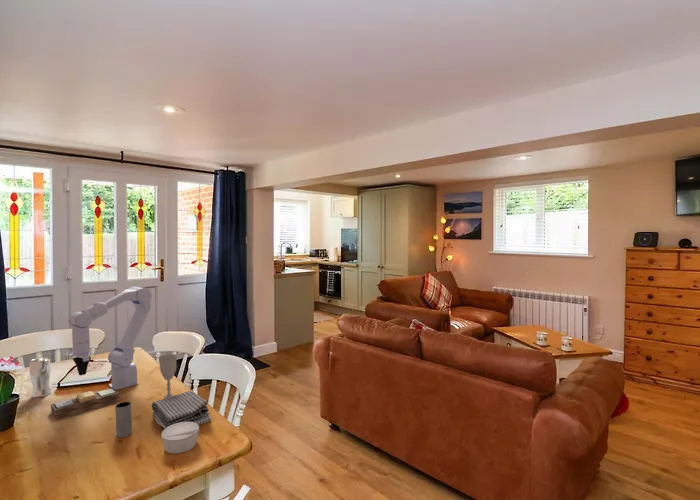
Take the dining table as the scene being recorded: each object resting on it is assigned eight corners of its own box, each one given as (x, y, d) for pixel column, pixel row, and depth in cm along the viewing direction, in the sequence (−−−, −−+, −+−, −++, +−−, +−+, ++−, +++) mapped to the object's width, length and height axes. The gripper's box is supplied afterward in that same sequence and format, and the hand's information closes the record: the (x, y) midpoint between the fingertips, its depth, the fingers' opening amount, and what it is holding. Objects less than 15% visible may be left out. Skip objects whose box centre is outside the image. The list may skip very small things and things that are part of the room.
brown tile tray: (112, 393, 164) (111, 386, 163) (120, 401, 156) (120, 394, 156) (50, 410, 148) (49, 402, 148) (56, 420, 141) (56, 412, 141)
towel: (191, 405, 153) (191, 386, 153) (212, 422, 140) (212, 401, 140) (150, 419, 142) (149, 398, 142) (168, 438, 129) (168, 415, 129)
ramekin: (175, 460, 117) (175, 443, 116) (153, 449, 123) (153, 433, 122) (206, 443, 126) (206, 427, 126) (185, 433, 132) (185, 418, 132)
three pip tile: (70, 404, 150) (70, 398, 150) (74, 408, 147) (73, 402, 147) (54, 408, 147) (54, 402, 147) (57, 412, 143) (57, 407, 143)
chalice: (155, 402, 155) (154, 358, 154) (169, 395, 161) (168, 353, 160) (169, 405, 152) (168, 360, 151) (182, 398, 159) (181, 355, 158)
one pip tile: (111, 393, 161) (111, 387, 161) (115, 396, 157) (115, 391, 157) (97, 396, 157) (97, 391, 157) (101, 400, 154) (101, 395, 154)
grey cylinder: (115, 439, 128) (114, 408, 128) (116, 432, 132) (115, 403, 132) (131, 435, 130) (130, 405, 130) (132, 429, 134) (131, 400, 134)
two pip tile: (91, 395, 156) (91, 390, 155) (95, 399, 152) (95, 394, 152) (76, 399, 152) (76, 394, 152) (80, 403, 148) (79, 398, 148)
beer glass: (56, 391, 166) (54, 356, 165) (41, 398, 159) (39, 362, 158) (41, 390, 166) (39, 356, 165) (26, 397, 159) (24, 361, 159)
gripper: (64, 340, 160) (66, 372, 160) (73, 347, 150) (75, 382, 151) (85, 336, 165) (86, 368, 166) (95, 343, 155) (96, 377, 156)
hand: (82, 374), depth 158 cm, fingers closed
